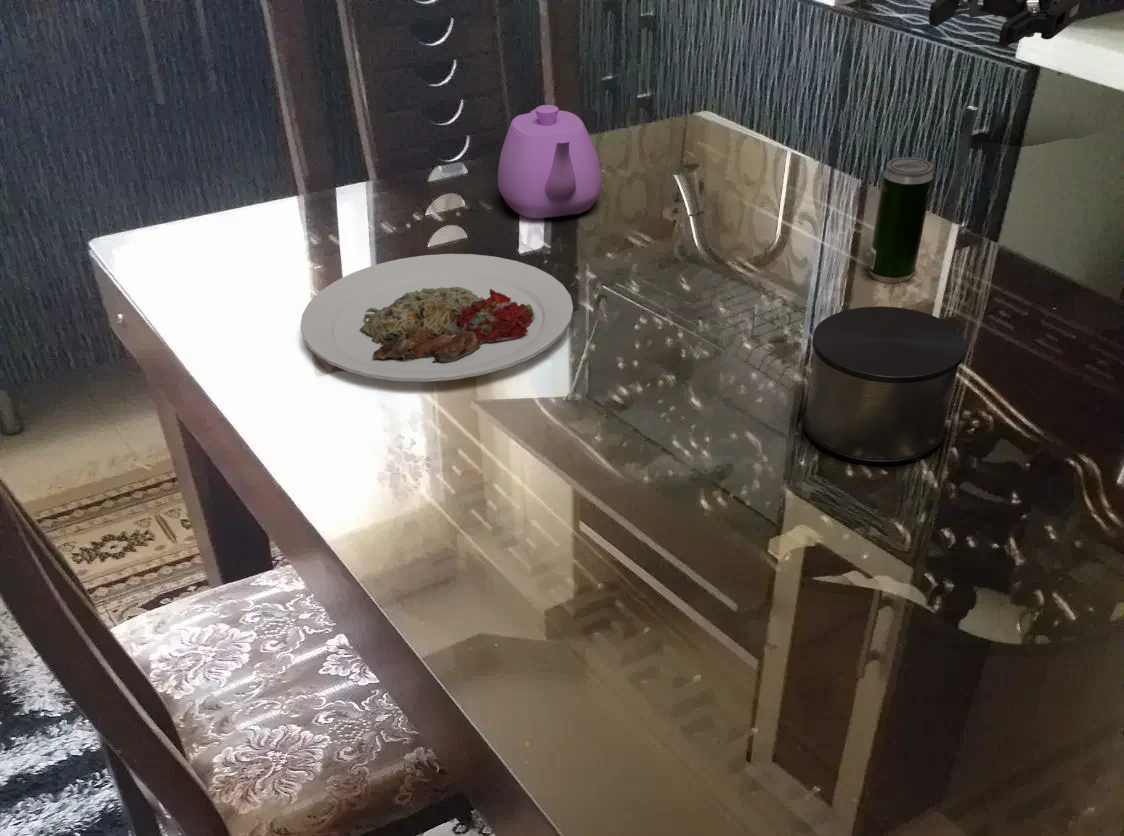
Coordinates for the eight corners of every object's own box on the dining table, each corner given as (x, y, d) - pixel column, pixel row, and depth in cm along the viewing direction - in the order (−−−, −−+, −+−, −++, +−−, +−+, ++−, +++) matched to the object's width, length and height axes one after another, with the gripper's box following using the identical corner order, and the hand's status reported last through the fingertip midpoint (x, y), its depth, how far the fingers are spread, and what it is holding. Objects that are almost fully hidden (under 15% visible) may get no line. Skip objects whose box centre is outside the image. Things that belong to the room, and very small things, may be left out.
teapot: (488, 186, 156) (481, 91, 148) (583, 175, 158) (582, 80, 150) (517, 244, 143) (511, 143, 134) (620, 232, 144) (621, 131, 136)
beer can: (877, 286, 132) (896, 176, 123) (859, 267, 136) (876, 159, 127) (921, 281, 132) (943, 171, 124) (902, 262, 136) (922, 154, 128)
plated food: (277, 299, 134) (271, 270, 132) (517, 251, 141) (516, 223, 139) (341, 420, 114) (336, 389, 112) (616, 358, 122) (616, 327, 119)
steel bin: (928, 391, 115) (947, 304, 109) (959, 466, 106) (982, 375, 99) (792, 394, 116) (803, 307, 109) (811, 468, 106) (824, 378, 100)
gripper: (1004, -80, 127) (916, -30, 121) (1123, -53, 120) (1036, 2, 114) (989, -4, 133) (904, 47, 127) (1102, 26, 126) (1018, 82, 120)
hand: (967, 26), depth 120 cm, fingers open, 8 cm apart
